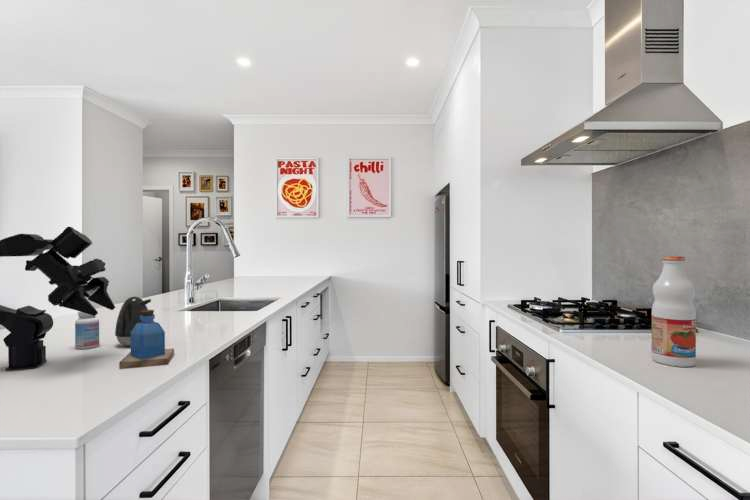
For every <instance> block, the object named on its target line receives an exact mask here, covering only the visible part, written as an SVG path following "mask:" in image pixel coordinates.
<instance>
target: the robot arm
mask: <svg viewBox="0 0 750 500" xmlns="http://www.w3.org/2000/svg"><path fill="white" fill-rule="evenodd" d="M92 244H93V241H92V240H91V239H90V238H89V237H88V236H87V235H85V234H83V233H82V232H80V231H79V230H77V229H75V228H74V227H72V226H67V227H65V229H64V230H63V231H62V232H61V233H60V234H59V235H57V236H56V237H55V238H54V239H49V238H48V239H44V238H43V236H41V235H40V234H35V233H34V234H32V233H18V234H15V235H11V236H8V237H5V238H2V239H0V258H2V257H4V258H5V257H30V256H31V257H33V256H34V258H33V259H32V260H31V259H30V260H26V261H25V263H26V264H25V268H24V270H25V272H35V271H37V270H39V271H40V272H41V273H42V274H43V275H44V276H46V277H47V278H48V279H49V281H48V283H49V285H51V286H53V285H56V286H57V287H56V288H54V289H53V290H52V291H51V292H50V293H49V294H48V295H47V301H48V302H49V303H50V304H52V305H53V307H56V306H58V307H60V308H65V309H69V310H73V311H76V312H78V311H80V312H83V313H87V314H90V315H93V316H95V317H96V316H97V314H99V312H98V311H97V309H96V308H95V306H94V305H92V303H95V304H97V305H100V306H101V307H103V308H106V309H109V310H111V311H113V310H115V308H116V306H115V304H114V301H113V300H112V299H111V297H110V295H109V293H108V286H109V284H110V281H109V279H107V278H106V277H105V276H97V277H93V276H95V275H96V274H98V273H101V272H105V271H106V269H107V268H106V267H105V266H106V262H105V261H103V259H99V258H94V259H92V260H89V261H87V262H85V263H83V264H80V265H72V264H71V263H70V262H68V261H67V260H66V259H70V258H72V259H76V258H77V257H78V256H80V255H81V254H82V253H83V252H84V251H85V250H86V249H87V248H89V247H90V246H91V245H92ZM44 251H45V252H44ZM91 302H92V303H91ZM46 311H47V310H46V309H38V308H37V307H34V306H31V305H26V306H21V307H20V308H17V309H15V308H11V307H9V306H5V305H1V304H0V326H2V327H3V328H5V329H6V330H7V331H8V332H9V334H8V335H6V336H5V337H3V339H2V340H3V343H4V344H5V347H7V350H8V353H7V354H8V356H7V357H8V365H7V367H5V368H4V371H13V370H15V371H16V370H26V369H35V368H38V367H40V366H41V365H43V364H45V363H46V362H47V361H48V360H47V352H46V351H47V350H46V349H47V347H46V345H44V339H45V337H46V336H47V335H46V334H47V333H48V332H49V331H50V330H52V328H53V326H54V319H53V317H52V315H51V314H49V313H47V312H46Z"/></svg>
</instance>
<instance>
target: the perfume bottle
mask: <svg viewBox="0 0 750 500" xmlns="http://www.w3.org/2000/svg"><path fill="white" fill-rule="evenodd" d="M154 311H155V309H148V310H143V311H141V316H140V320H141V323H136V325H135V326H134V328H133V330H132V331H131V333H130V335H131V346H130V352H131V356H133V357H135V358H138V359H140V360H141V359H146V358H151V357H156V356H160V355H165V349H166V340H165V339H166V334H165V333H166V332H165V330H164V328H163V327H162V326H161V324H160V323H159V322H157V321H155V318H156V317H155V316H156V315H155V314H154Z"/></svg>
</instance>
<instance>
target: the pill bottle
mask: <svg viewBox="0 0 750 500" xmlns="http://www.w3.org/2000/svg"><path fill="white" fill-rule="evenodd" d="M77 316H78V318H77V319H76V320H75V323H74V348H75V349H77V350H87V349H88V350H89V349H95V348H98V347H99V346H100V319H99V318H98V317H97V316H96V315H95V316H93V315H90V314H87V313H83V312H80V311H77Z"/></svg>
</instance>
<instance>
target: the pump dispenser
mask: <svg viewBox="0 0 750 500" xmlns="http://www.w3.org/2000/svg"><path fill="white" fill-rule="evenodd" d="M151 302H152V299H150V298H148V299H144V300H143V298H141V297H140V296H130V297H128V298H127V299H125V300H124V302H123V304H122V305H121V308H120V310H119V313H118V316H117V319H116V323H115V328H114V329H115V331H114V332H115V333H114V335H115V337H116V340H117V341H118V343H119V344H120V345H121V346H124V347H131V335H130V333H131V331H132V330H133V328H134V326H135V325H136V323H141V320H140V316H141V311H143V310H149V308H148V307H147V304H149V303H151Z"/></svg>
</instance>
